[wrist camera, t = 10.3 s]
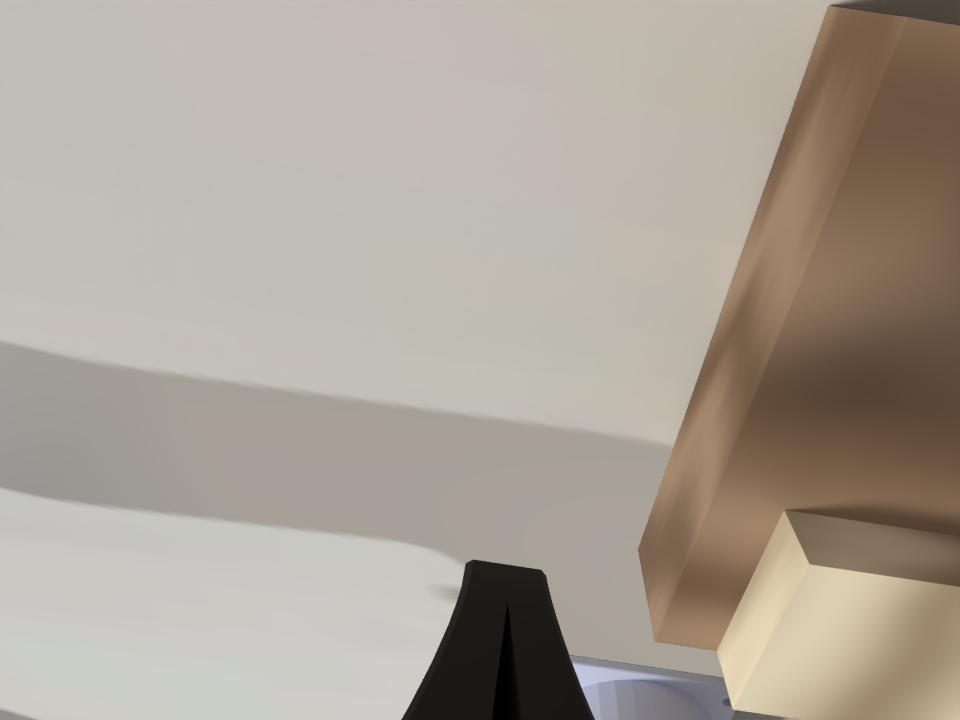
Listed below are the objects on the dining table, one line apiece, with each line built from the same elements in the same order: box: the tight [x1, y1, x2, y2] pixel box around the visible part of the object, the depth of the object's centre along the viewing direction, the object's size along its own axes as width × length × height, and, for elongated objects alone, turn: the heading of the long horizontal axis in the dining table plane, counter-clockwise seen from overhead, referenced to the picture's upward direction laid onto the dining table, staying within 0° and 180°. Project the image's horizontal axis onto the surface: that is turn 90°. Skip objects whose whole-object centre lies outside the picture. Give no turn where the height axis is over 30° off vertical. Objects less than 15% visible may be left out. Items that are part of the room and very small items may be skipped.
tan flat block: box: [638, 6, 960, 651], centre depth 19 cm, size 18×12×4 cm, turn 172°
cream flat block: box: [717, 510, 960, 720], centre depth 20 cm, size 9×6×2 cm, turn 82°
